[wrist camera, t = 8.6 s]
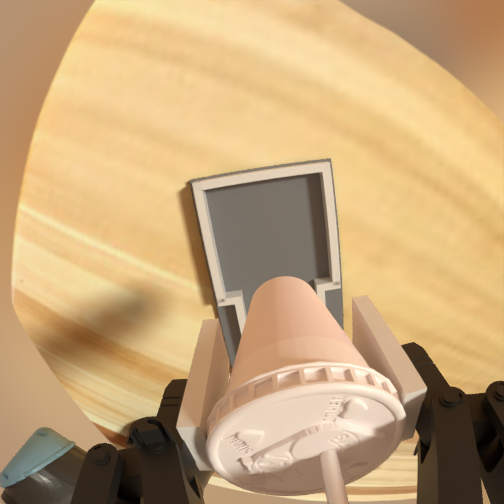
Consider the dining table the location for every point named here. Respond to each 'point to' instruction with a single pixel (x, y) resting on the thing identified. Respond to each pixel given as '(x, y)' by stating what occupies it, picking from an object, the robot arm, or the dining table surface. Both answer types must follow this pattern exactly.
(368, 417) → the smoothie
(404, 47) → the dining table surface
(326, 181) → the keyhole plate
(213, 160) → the dining table surface
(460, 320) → the dining table surface
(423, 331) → the dining table surface
